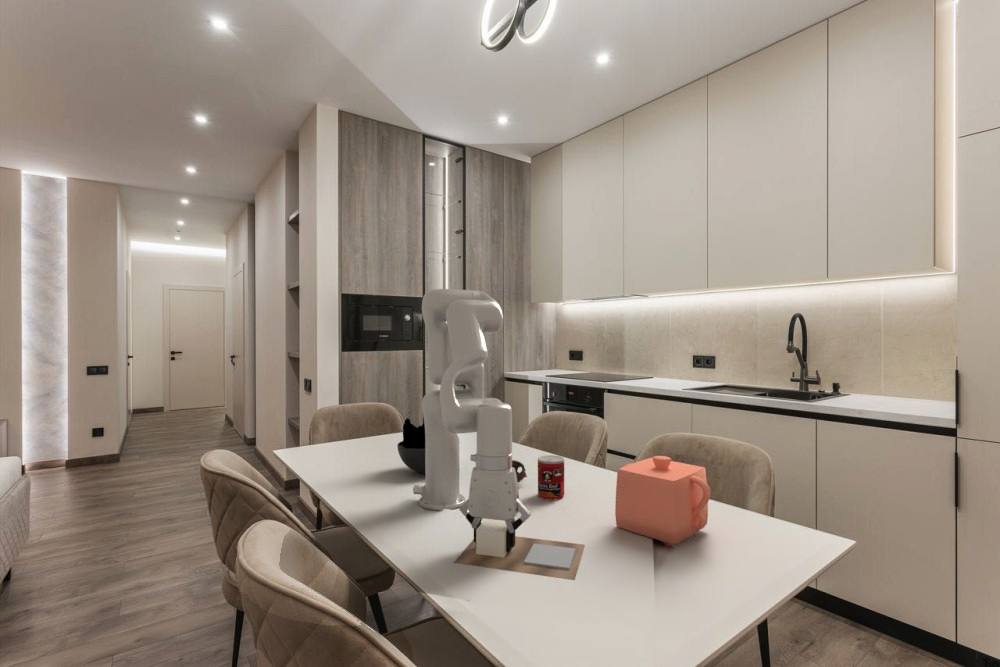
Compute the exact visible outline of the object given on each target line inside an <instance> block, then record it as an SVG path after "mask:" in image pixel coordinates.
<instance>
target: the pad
mask: <svg viewBox="0 0 1000 667" xmlns="http://www.w3.org/2000/svg"><path fill="white" fill-rule="evenodd" d="M575 552H576V549H575V548H567V547H559V546H550V545H542V544H533V546H532V548H531V550H530V552H529V553H528V555H527V557H526V559H525V561H524V564H529V565H536V566H544V567H551V568H558V569H566V570H570V567H571V564H572V561H573V558H574V555H575Z"/></svg>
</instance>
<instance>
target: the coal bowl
mask: <svg viewBox="0 0 1000 667" xmlns="http://www.w3.org/2000/svg"><path fill="white" fill-rule="evenodd" d="M402 438H403V439H402V441H399V442H398V443H397V445H396V446H397V451H398V455H399V458H400V459H401V460H402V463H404V465H405V466H406V467H408V468H409V469H410V470H412V471H414V472H417V473H420V474H425V424H424V422H423V423H422V425H418V426H415V425H414V424H413V423H411V419H410V418H408V417H407V418H406V419H405V420H404V423H403V425H402Z"/></svg>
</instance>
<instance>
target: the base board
mask: <svg viewBox="0 0 1000 667" xmlns="http://www.w3.org/2000/svg"><path fill="white" fill-rule="evenodd" d="M533 544H542V545H550V546H559V547H567V548H575V549H576V552H575V555H574V558H573V561H572V564H571V567H570V570H566V569H558V568H551V567H544V566H536V565H529V564H524V561H525V559H526V557H527V555H528V553H529V552H530V550H531V548H532V546H533ZM585 546H586V544H582V543H575V542H567V541H566V542H565V541H558V540H549V539H539V538H533V537H522V536H516V535H515V546H514V547H513V548H512V549H511V551H510V552H507V554H506V555H505V557H504V558H503V557H496V556H488V555H481V554H476V542H474V538H473V540H472V541H471V542H470V543H469V544H468V545H467V547H465V549H464V550H463V551H462V552H461V553H460V555H459V556H458V557H457V558H456V559H455V560H454V561H453V564H458V565H459V564H460V565H466V566H473V567H481V568H487V569H495V570H501V571H509V572H514V573H521V574H531V575H537V576H543V577H551V578H559V579H563V580H565V579H566V580H573V581H575V580H576V577H577V574H578V570H579V567H580V563H581V560H582V556H583V552H584V549H585Z"/></svg>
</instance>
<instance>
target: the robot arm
mask: <svg viewBox="0 0 1000 667" xmlns="http://www.w3.org/2000/svg"><path fill="white" fill-rule="evenodd" d="M421 303H422V304H421V313H422V318H423V322H424V325H425V328H426V332H427V374H428V376H427V377H428V379H429V382H431V383H432V384H434V385H436V386H437V385H438V386H439V387H440V388H439V389H437V390H432V391H429V392H427V393H426V394H425V395H424V396H423V398H422V402H421V408H422V409H421V410H422V416H423V421H424V422H423V423H424V424H425V473H424V474H425V477H424V478H425V480H424V481H425V482H424V483H425V484H424V485H418V484H414V485H413V487H412V490H413V491H412V492H413V495H420V496H421V498H419V505H420V506H421V507H422V508H424V509H427V510H432V511H444V510H453V509H458V510H459V512H461V513H462V514H463V516H464V517H465V518H466V520H467V521H468V522H469V524H470V526H471V528H472V529H473V539H474V542H476V529H477V528H478V527H479V526H480V525H481V524H482V523H483V519H484V520H485V519H487V520H496V521H505V523H506V525H507V528H508V532H507V533H506V551H507V552H510V551H511V549H512V548H513V547H514V546H515V536H516V530H517V529H519V527H521V526H522V524H523V523H525V522H526V521H527V520H528V519H530V517H531V512H530V511H529V509H528V508H527V507H526V506H525V505H524V504H523V503H522V501H520V497H519V496H520V494H519V484H518V483H519V482H517V476H516V471H515V468H514V467H512V460H513V409H512V407H511V405H510V404H509V403H506V402H502V401H501V400H500V399H499V398H495V397H485V365H484V363H485V362H486V361H487V360H488V358H489V353H488V348H487V344H486V338H485V334H497V333H499V332H500V331H501V329H502V328H503V325H504V314H503V310H502V308H501V306H500V304H499V303H498V301H497V300H495V299H494V297H491V296H490V295H489V294H487V293H486V292H484V291H482V290H473V289H471V290H470V289H456V288H454V289H453V288H436V289H430V290H428V291H427V292H425V293H424V295H423V296H422V302H421ZM457 385H459V386H460V385H465V388H461V389H459V388H457V389H456V388H455V386H457ZM469 433H470V434H472V433H476V453H474V454H470V461H471V462H474V463H475V466H474V467H473V468H472V471H471V475H470V481H469V491H468V499H466V498H465V496H464V495H463V494H461V493H460V438H459V436H458V434H469ZM518 513H519V514H520V516H519V517H518V518H517V519H516V518H515V517H516V514H518Z"/></svg>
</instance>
